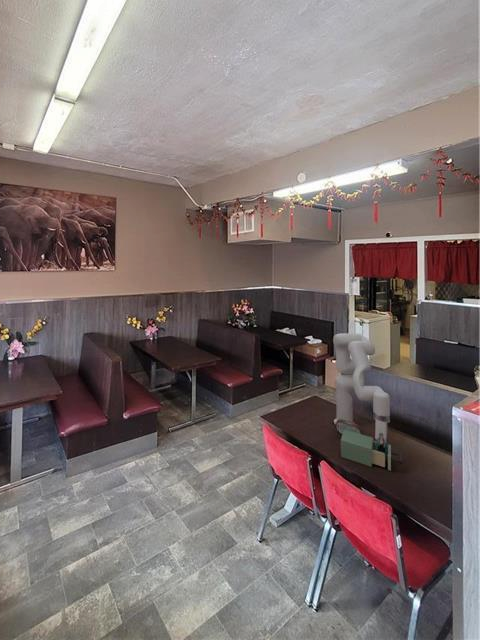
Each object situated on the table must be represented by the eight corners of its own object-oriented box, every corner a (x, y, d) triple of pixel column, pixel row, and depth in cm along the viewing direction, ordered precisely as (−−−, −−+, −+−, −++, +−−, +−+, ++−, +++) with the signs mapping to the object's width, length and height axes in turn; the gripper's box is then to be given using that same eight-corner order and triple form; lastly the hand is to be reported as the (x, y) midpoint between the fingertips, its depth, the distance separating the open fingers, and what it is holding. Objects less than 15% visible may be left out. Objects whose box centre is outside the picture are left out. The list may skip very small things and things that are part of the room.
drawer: (402, 462, 159) (402, 448, 159) (402, 474, 150) (402, 459, 150) (362, 449, 169) (362, 436, 169) (360, 460, 160) (360, 446, 160)
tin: (363, 440, 180) (363, 425, 180) (361, 442, 178) (361, 428, 178) (336, 430, 190) (336, 416, 190) (335, 432, 188) (335, 418, 188)
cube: (376, 447, 163) (376, 438, 163) (387, 450, 160) (387, 441, 160) (376, 452, 159) (376, 442, 159) (387, 455, 156) (387, 446, 156)
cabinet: (373, 454, 167) (373, 437, 167) (371, 467, 156) (371, 449, 157) (343, 445, 175) (343, 429, 175) (340, 456, 164) (340, 439, 165)
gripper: (374, 408, 169) (374, 440, 168) (372, 421, 155) (372, 457, 154) (390, 411, 165) (390, 445, 164) (389, 425, 151) (390, 462, 150)
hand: (381, 450), depth 159 cm, fingers closed on cube, 4 cm apart
